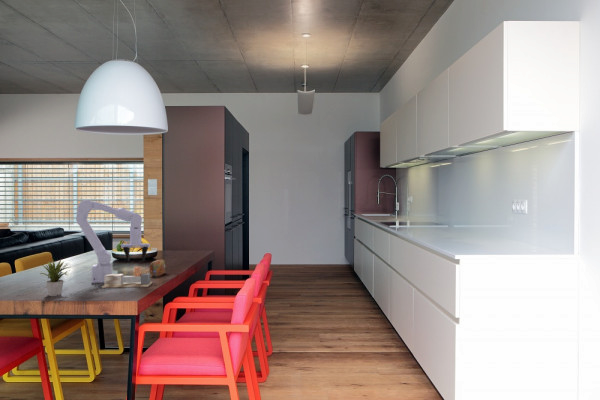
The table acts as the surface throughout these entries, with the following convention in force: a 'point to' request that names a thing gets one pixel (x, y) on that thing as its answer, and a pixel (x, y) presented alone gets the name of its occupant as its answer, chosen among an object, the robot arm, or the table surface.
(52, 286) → the house plant
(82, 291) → the table surface
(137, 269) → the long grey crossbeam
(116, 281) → the tube stand
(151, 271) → the tin
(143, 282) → the socket
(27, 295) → the table surface
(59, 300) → the table surface
